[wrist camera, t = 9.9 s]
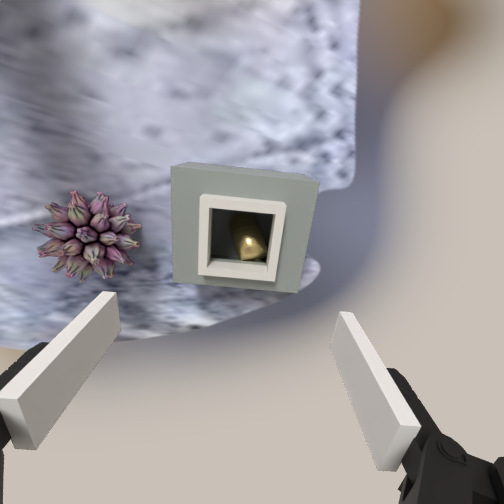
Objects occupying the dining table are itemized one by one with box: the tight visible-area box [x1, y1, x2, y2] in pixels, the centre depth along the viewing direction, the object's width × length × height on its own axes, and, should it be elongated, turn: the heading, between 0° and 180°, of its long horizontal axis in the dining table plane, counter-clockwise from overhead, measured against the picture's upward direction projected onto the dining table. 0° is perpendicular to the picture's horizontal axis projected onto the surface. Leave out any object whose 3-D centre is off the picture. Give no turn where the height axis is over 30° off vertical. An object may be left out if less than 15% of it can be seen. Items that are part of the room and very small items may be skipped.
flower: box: [32, 191, 142, 283], centre depth 33 cm, size 12×12×12 cm
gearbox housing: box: [171, 162, 320, 293], centre depth 33 cm, size 16×14×11 cm
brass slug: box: [229, 213, 268, 263], centre depth 34 cm, size 4×4×6 cm
